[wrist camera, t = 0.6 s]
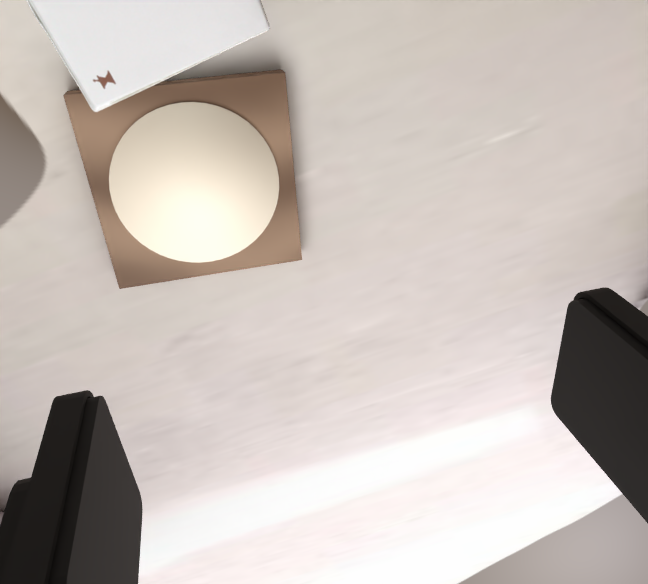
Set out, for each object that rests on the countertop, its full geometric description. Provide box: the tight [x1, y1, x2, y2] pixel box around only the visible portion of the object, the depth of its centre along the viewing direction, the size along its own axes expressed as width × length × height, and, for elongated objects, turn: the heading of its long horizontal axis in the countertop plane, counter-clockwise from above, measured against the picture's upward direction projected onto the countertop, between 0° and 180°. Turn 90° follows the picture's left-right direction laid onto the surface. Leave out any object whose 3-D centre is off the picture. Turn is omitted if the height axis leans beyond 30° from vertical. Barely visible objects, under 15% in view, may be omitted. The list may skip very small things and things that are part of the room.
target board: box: [64, 70, 302, 289], centre depth 34 cm, size 12×12×1 cm
